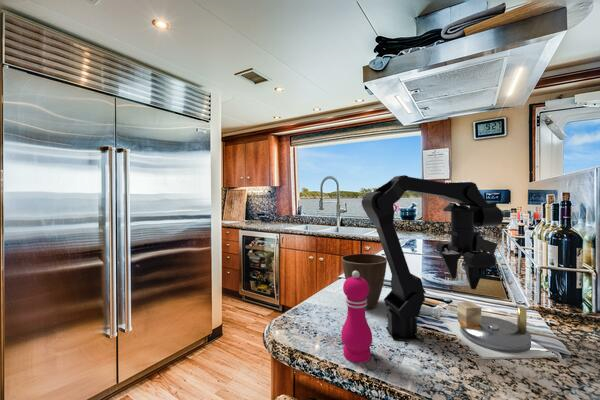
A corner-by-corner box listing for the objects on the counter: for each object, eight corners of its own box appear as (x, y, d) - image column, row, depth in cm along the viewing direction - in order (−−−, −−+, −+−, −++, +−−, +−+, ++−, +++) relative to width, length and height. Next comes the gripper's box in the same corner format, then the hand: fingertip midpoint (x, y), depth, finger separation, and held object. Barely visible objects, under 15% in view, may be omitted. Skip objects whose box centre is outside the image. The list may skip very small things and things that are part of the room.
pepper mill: (338, 347, 69) (337, 267, 69) (366, 345, 70) (365, 266, 69) (345, 365, 62) (344, 276, 62) (377, 363, 63) (376, 274, 62)
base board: (483, 359, 63) (483, 357, 63) (443, 324, 80) (443, 322, 80) (556, 357, 64) (556, 355, 64) (501, 322, 81) (501, 321, 81)
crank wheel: (543, 357, 62) (543, 321, 62) (465, 345, 68) (465, 312, 67) (517, 326, 77) (517, 297, 76) (454, 319, 82) (454, 291, 82)
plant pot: (342, 313, 89) (341, 263, 89) (342, 296, 104) (341, 253, 103) (391, 315, 87) (390, 264, 86) (384, 297, 101) (383, 253, 101)
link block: (466, 325, 73) (466, 308, 73) (457, 318, 77) (457, 302, 77) (481, 324, 74) (481, 307, 73) (471, 317, 78) (471, 301, 77)
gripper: (517, 231, 68) (518, 294, 69) (470, 223, 87) (471, 273, 87) (472, 232, 68) (472, 296, 69) (434, 224, 87) (435, 274, 87)
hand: (463, 283), depth 78 cm, fingers open, 9 cm apart
